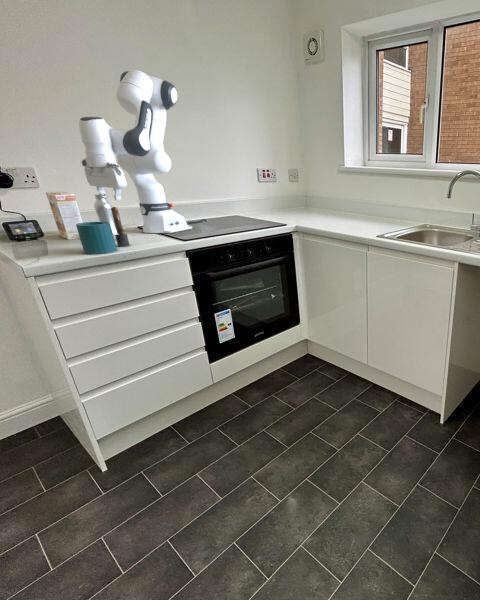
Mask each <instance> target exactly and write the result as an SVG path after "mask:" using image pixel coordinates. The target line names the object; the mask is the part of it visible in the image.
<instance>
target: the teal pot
mask: <svg viewBox="0 0 480 600" xmlns="http://www.w3.org/2000/svg"><path fill="white" fill-rule="evenodd" d="M76 227H77V230H78V233H79V237H80V239H79V240H80V244H81V247H82V250H83V252H84V254H85V255H103V254H111V253H114V252H117V251H118V249H117V245H116V244H117V243H116V241H115V240H114V237H113V233H112V229H111V226H110V223H109V222H99V221H86V222H83V223H78V224H76Z"/></svg>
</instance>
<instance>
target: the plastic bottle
mask: <svg viewBox="0 0 480 600" xmlns="http://www.w3.org/2000/svg"><path fill="white" fill-rule="evenodd" d="M94 199H95V202H94V203H93V209H94V211H95V214H96V216H97V218H98V222H109V223H110V226H111V229H112V233H113V237H114V241H115V240H116V237H115V234H118V233H117V230H116V227H115V223H114V219H113V215H112V211H111V208H112V207H113V205H112V204H111V202H110V201H108V200H107V198H101V196H100V193H94Z"/></svg>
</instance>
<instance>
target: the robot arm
mask: <svg viewBox="0 0 480 600" xmlns="http://www.w3.org/2000/svg"><path fill="white" fill-rule="evenodd" d="M115 98H116V101H117V103H118V105H120V107H121V108H122V109H123V110H125V112H127V113H129V115H132V116H134V117H135V120H134V125H133V127H130V128H126V129H125V128H114V127H112V126H110V124H108V123H107V122H106V120H105V119H104V118H103V117H100V116H82V117H81V118H79V120H78V128H79V133H80V139H81V142H82V143H83V146H84V149H85V150H84V152H85V153H84V154H85V157H84V158H83V159H82V160H80V163H81V166H82V167H84V168H83V170H84V174H85V178H86V181H87V183H88V185H89V186H90V187H95V188H96V191H97V192H98V194H100V196H101V198H106V199H108V198H109V196H108V193H106V191H105V188H109V189H112V190H113V191H114V194H113V199H114V200H116V201H121V200H122V193H123V192H122V191H123V190H122V189H127V188H128V183H127V179H126V177H125V173H124V171H125V172H126V173H127V174H128V176H129V177H130V179H131V180H132V182H133V184H134V186H135V189H136V193H137V196H138V200H139V203H138V206H139V211H140V213H141V215H142V233H144V234H172V233H177V232H181V231H186V230H192V229H193V225H190V224H199V223H202V222H203V221H204V222H208V221H207V219H205V218H202V219H200V220H198V221H188V222H187V220H186V218H185V216H183V215H182V214H179V213H178V212H176V211H174V210H173V209H172V208H175V206H176V204H175V203H173V202H172V203H171V202H170V203H169V202H167V199H166V193H165V189H164V186H163V185H162V184H161V183H160V182H158V180H156V178H155V176H154V175H160V174H165V173H168V172H169V171H171V168H172V160H171V158H170V156H169V155H168V154H167V153H166V151H165V147H164V138H165V134H166V127H167V111H168V110H170V109H171V108H172V107H174V106H175V105H176V104H177V101H178V90H177V88H176V87H175V85H174V84H173V83H172V82H170V81H168V80H163V79H161V78H159V77H155V76H153V75H148V74H146V73H145V72H143V71H142V70H139V69H130V70H125V71H123V72H122V73H121V74H120V77H119V85H118V87H117V89H116V93H115ZM123 170H124V171H123Z"/></svg>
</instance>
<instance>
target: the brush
mask: <svg viewBox="0 0 480 600" xmlns="http://www.w3.org/2000/svg"><path fill="white" fill-rule="evenodd" d="M111 211H112V215H113V219H114V223H115V227H116V230H117V233H118V234H115V237H116V239H115V240H116V241H115V242H116V244H117V245H116V246H117V247H119V248H125V247H129V246H130V242H129V237H128V233H125V232H124V228H123V224H122V220H121V217H120V213H119V209H118V207H116V206H112V208H111Z"/></svg>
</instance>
